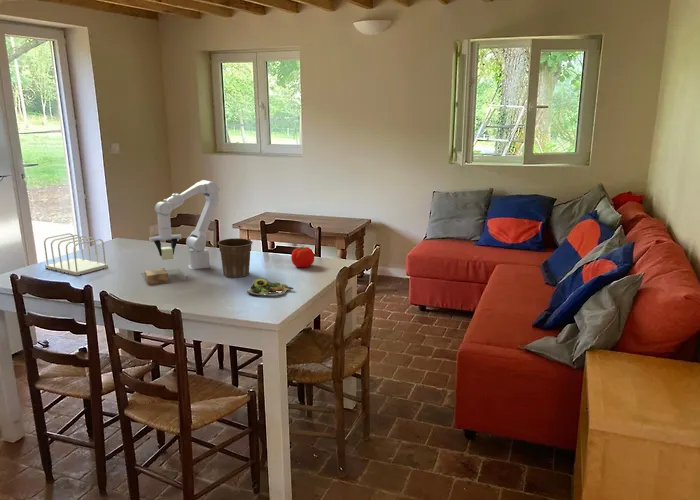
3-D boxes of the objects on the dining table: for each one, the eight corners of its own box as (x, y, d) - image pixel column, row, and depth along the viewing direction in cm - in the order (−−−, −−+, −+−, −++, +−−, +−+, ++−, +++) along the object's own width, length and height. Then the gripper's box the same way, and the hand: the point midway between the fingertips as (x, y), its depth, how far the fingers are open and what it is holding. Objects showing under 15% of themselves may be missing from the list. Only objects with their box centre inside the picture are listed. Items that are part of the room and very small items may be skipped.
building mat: (179, 269, 275) (179, 268, 274) (187, 280, 257) (187, 279, 257) (140, 274, 266) (140, 273, 266) (147, 285, 249) (146, 284, 249)
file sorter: (108, 267, 277) (105, 237, 273) (76, 276, 262) (73, 244, 259) (76, 261, 289) (73, 231, 285) (44, 268, 274) (40, 238, 271)
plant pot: (260, 272, 270) (259, 240, 266) (239, 281, 256) (237, 247, 252) (234, 268, 278) (232, 236, 274) (212, 276, 264) (210, 243, 260)
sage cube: (171, 256, 270) (170, 246, 269) (173, 258, 266) (172, 248, 264) (160, 257, 268) (160, 247, 266) (162, 260, 263) (161, 249, 262)
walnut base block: (165, 276, 262) (164, 268, 261) (168, 281, 254) (167, 273, 253) (145, 278, 258) (144, 270, 257) (147, 284, 250) (147, 275, 249)
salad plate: (298, 286, 250) (298, 276, 249) (287, 299, 233) (287, 289, 232) (257, 284, 253) (256, 274, 252) (243, 296, 236) (243, 286, 235)
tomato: (309, 262, 289) (309, 243, 286) (317, 268, 279) (317, 248, 276) (287, 265, 284) (287, 245, 281) (295, 270, 274) (295, 250, 271)
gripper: (178, 224, 270) (180, 251, 273) (147, 227, 263) (149, 254, 266) (181, 226, 264) (183, 254, 267) (149, 229, 257) (152, 258, 260)
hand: (166, 254), depth 266 cm, fingers closed on sage cube, 5 cm apart
